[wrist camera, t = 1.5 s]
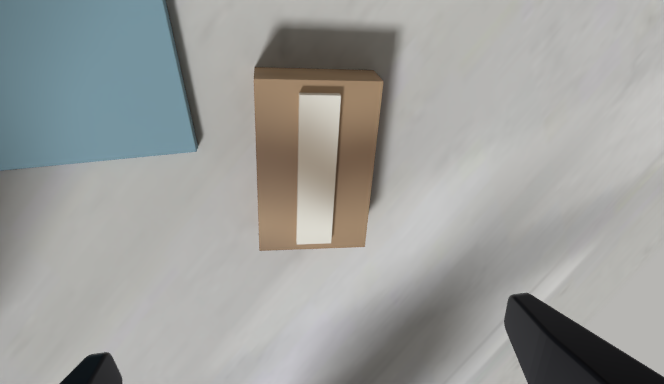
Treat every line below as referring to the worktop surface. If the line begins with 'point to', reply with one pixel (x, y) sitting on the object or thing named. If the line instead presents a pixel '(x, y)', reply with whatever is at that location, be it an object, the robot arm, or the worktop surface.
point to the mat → (89, 83)
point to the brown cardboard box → (315, 155)
